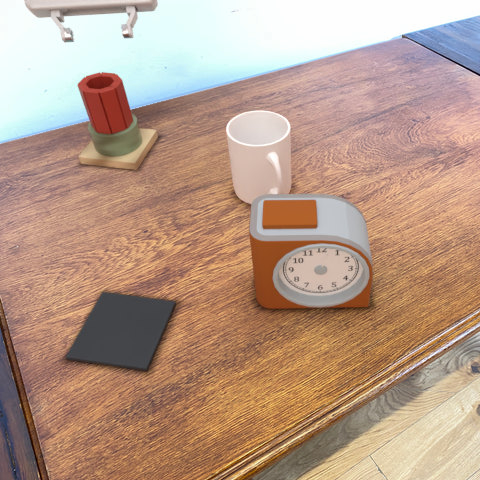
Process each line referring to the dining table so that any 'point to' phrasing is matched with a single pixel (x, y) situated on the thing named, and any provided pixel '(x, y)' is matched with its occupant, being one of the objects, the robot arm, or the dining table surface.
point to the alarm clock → (309, 252)
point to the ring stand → (119, 147)
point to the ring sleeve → (106, 102)
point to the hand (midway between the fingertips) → (98, 39)
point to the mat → (122, 331)
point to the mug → (259, 154)
